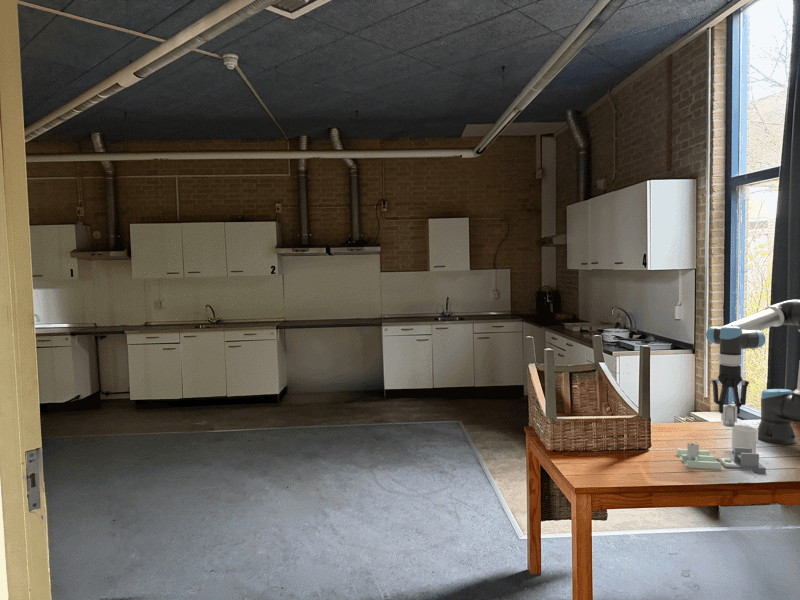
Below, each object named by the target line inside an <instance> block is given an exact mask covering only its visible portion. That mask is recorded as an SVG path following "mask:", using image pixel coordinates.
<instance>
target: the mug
mask: <svg viewBox="0 0 800 600" xmlns="http://www.w3.org/2000/svg"><path fill="white" fill-rule="evenodd" d="M757 429H758V428H756V427H753V426H750V425H745V424H735V425H734V427H731V451H732V452H733V453H734V447H742V448H752V453H757V444H758V442H759V439H758V431H759V430H757Z"/></svg>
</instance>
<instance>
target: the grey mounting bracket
mask: <svg viewBox="0 0 800 600" xmlns="http://www.w3.org/2000/svg"><path fill="white" fill-rule="evenodd" d="M737 454H741V459H740V458H739V457H738V456H737ZM716 460H717V462H721V466H722V467H724V468H725V469H730V470H731V469H733V470H751V471H752V472H753V473H755V474H767V473H766V472H767V470H766V469H767V468H766V467H765V466H764V465H763V464H761V463H760V462H759V461H760V454H759V453H758V452H756V453H752V448H742V447H734V452H733V457H720V456H719V457H718V456H717V457H716Z"/></svg>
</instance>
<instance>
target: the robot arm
mask: <svg viewBox="0 0 800 600" xmlns="http://www.w3.org/2000/svg"><path fill="white" fill-rule="evenodd" d="M780 326H797V331H798V332H799V333H800V299H796V298H795V299H789V300H784V301H781V302H778V303H774V304H771V305H769V306H767V307H765V308H764V310H762V311H760V312H757V313H755V314H751V315H750V316H747V317H743V318H741V319H738V320H735V321H733V322H731V323H728V324H725V325H723V326H718V325H717V326H710V327H709V328H708V329H707V330H706V334H705V337H706V340H707V341H708V343H711V344H714V345H719V365H718V366H719V370H718V371H719V372H718V373H719V374H718V375H717V377H716V378H711V380H710V381H711V384H712V392H713V393H712V395H713V402H714V403H715V404H716V405H718V413H720V421H722V423H723V422H725V412H726V406H725V405H726V404H725V399H726V395H727V391H728V389H729V388H732V389H731V390H732V395H733V400H734V401H733V402H734V404H733V405H732V406H734V407H735V419H734V422H735V423H738V415H740V413H741V407H742V406H746V401H747V390H748V386H749V384H750V382H749V381H748V380H746V379H743V377H742V376H741V375H742V366H741V364H742V350H749V349H754V350H755V349H758V348H762V347H763V346H764V345H765V344H766V335H765V334H764V332H762V331H763V330H766V329H768V328H771V327H776V328H777V327H780ZM798 362H799V364H798V375H797V387H796V389H795V390H792V389H786V388H771V389H770V388H769V389H764V390H762V392H761V396H760V422H759V423H758V424H759V425H758V426H757V428H756V429H757V430H759V431H758V440H760V441H762V442H766V443H767V442H768V443H771V444H777V445H778V444H779V445H792V444H793V445H794V444H795V443H797V436H796V435H797V434H796V433H795V431H794V427H793V424H792V423H793V422H794V423H798V424H800V361H798ZM719 382H720V384H721V390H720V393H719V386H718V384H719ZM740 384H741V390H740V395H739V388H738V386H739V385H740ZM719 394H720V395H719Z"/></svg>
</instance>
